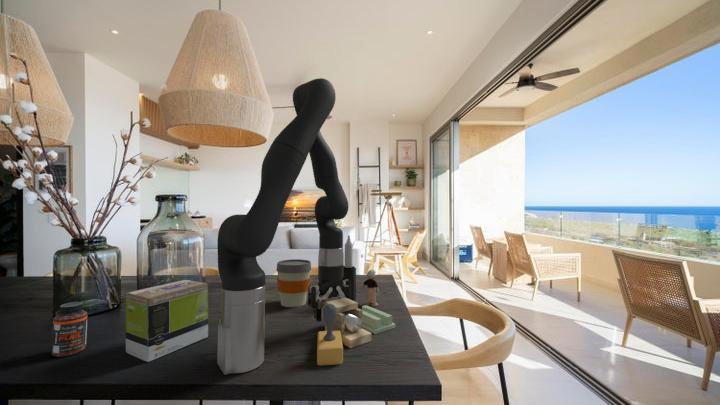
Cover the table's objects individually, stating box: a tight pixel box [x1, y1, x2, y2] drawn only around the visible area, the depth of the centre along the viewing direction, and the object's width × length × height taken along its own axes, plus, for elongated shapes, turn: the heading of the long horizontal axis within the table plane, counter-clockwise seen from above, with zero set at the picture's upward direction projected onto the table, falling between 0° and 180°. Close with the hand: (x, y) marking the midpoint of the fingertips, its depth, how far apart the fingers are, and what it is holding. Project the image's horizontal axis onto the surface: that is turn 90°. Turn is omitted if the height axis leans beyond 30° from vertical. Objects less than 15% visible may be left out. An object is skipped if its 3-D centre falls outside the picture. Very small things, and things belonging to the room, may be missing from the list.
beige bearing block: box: [324, 298, 373, 349], centre depth 81 cm, size 7×12×8 cm, turn 39°
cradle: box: [361, 304, 397, 335], centre depth 91 cm, size 8×13×4 cm, turn 39°
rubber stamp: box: [316, 304, 344, 366], centre depth 72 cm, size 10×6×12 cm, turn 7°
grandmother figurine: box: [362, 269, 380, 307], centre depth 109 cm, size 8×4×13 cm, turn 58°
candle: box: [341, 235, 357, 302], centre depth 110 cm, size 5×5×25 cm
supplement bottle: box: [51, 301, 88, 358], centre depth 71 cm, size 6×6×11 cm
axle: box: [321, 304, 362, 333], centre depth 84 cm, size 14×4×4 cm, turn 40°
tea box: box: [125, 279, 209, 363], centre depth 75 cm, size 15×10×15 cm, turn 152°
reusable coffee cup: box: [276, 258, 312, 308], centre depth 110 cm, size 13×13×15 cm
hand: (330, 317), depth 88 cm, fingers open, 8 cm apart
